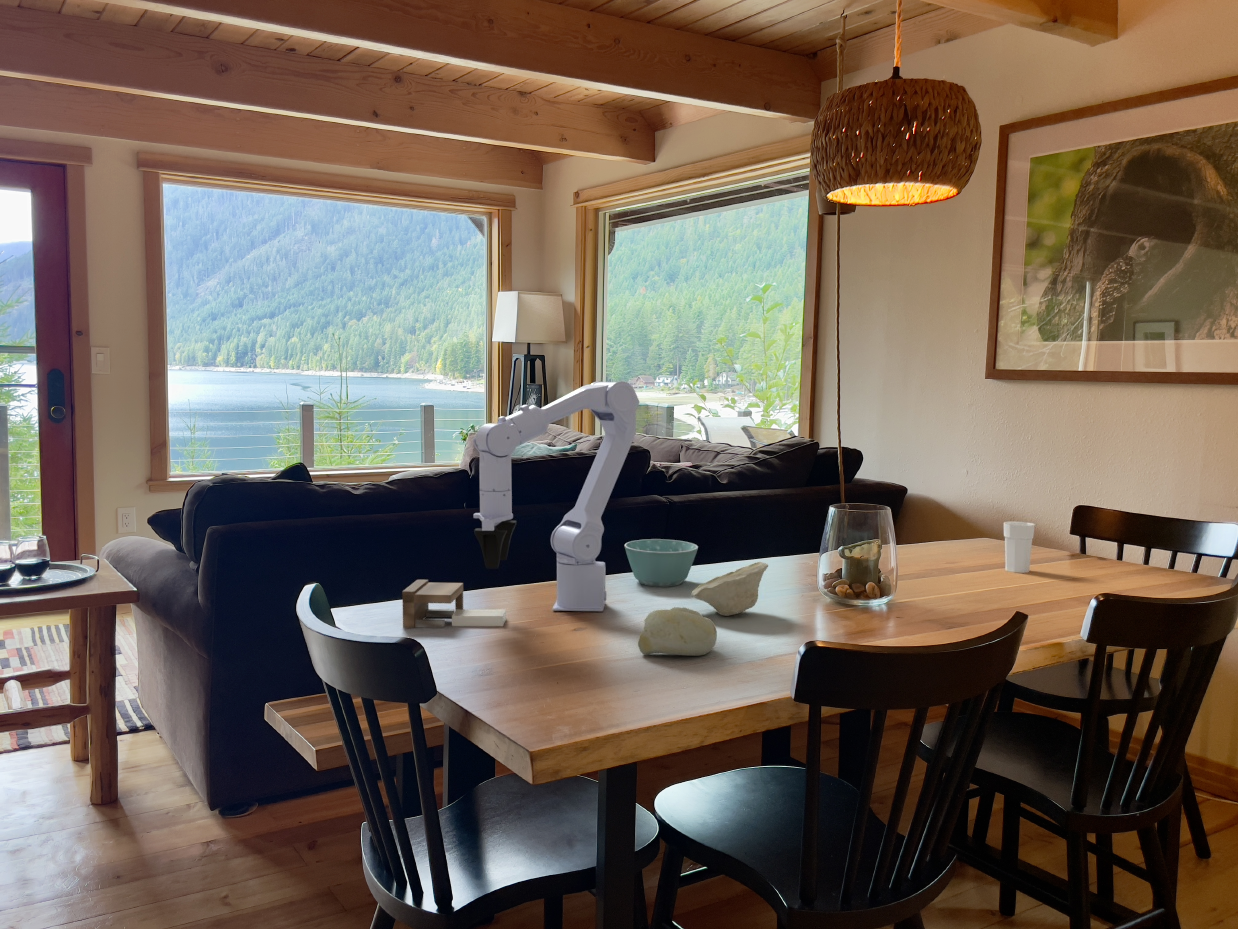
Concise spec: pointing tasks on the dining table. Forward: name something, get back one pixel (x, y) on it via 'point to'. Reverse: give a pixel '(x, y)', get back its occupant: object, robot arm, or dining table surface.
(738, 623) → the dining table surface
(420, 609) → the shelf
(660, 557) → the bowl
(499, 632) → the dining table surface
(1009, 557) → the cup
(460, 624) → the tile
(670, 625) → the smooth beige rock
